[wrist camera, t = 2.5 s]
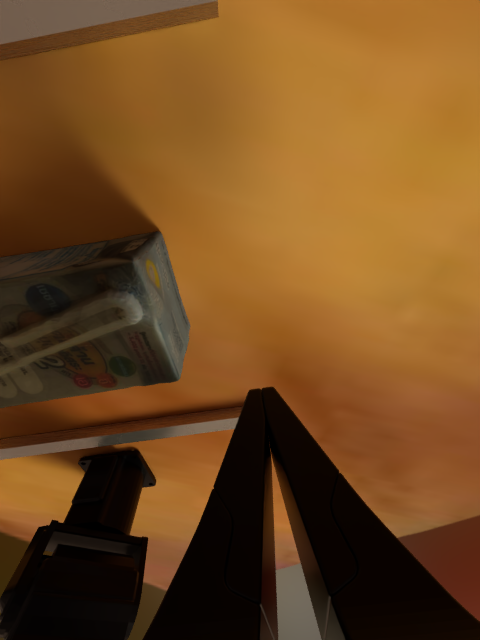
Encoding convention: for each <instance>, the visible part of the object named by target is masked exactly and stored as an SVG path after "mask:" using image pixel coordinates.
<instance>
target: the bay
mask: <svg viewBox="0 0 480 640" xmlns="http://www.w3.org/2000/svg"><path fill="white" fill-rule="evenodd" d="M215 17H219V16H218V0H0V60H3V59H8V58H13V57H18V56H23V55H29V54H34V53H39V52H44V51H49V50H54V49H59V48H64V47H69V46H74V45H79V44H84V43H89V42H94V41H99V40H104V39H109V38H114V37H119V36H124V35H129V34H134V33H139V32H144V31H149V30H154V29H159V28H164V27H169V26H175V25H180V24H185V23H190V22H195V21H200V20H205V19H210V18H215ZM242 408H243V406H241V407H234V408H226V409H219V410H212V411H204V412H197V413H190V414H182V415H175V416H168V417H160V418H153V419H145V420H138V421H131V422H123V423H116V424H109V425H101V426H94V427H86V428H79V429H72V430H64V431H57V432H50V433H42V434H35V435H28V436H20V437H13V438H5V439H0V460H2V459H10V458H17V457H25V456H32V455H40V454H47V453H55V452H63V451H70V450H78V449H85V448H93V447H100V446H108V445H115V444H123V443H131V442H138V441H146V440H153V439H161V438H168V437H176V436H183V435H191V434H199V433H206V432H214V431H221V430H229V429H235V427H236V424H237V421H238V419H239V416H240V413H241V410H242Z"/></svg>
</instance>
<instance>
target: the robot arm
mask: <svg viewBox="0 0 480 640" xmlns="http://www.w3.org/2000/svg"><path fill="white" fill-rule="evenodd" d="M268 436H269V437H268ZM269 443H270V444H269ZM270 449H271V451H270ZM271 454H272V459H273V463H274V467H275V470H276V474H277V478H278V481H279V485H280V489H281V492H282V496H283V499H284V503H285V507H286V510H287V514H288V518H289V521H290V525H291V529H292V532H293V536H294V540H295V543H296V547H297V551H298V554H299V558H300V562H301V565H302V569H303V573H304V576H305V580H306V584H307V587H308V591H309V595H310V598H311V602H312V606H313V609H314V613H315V617H316V620H317V624H318V628H319V631H320V635H321V639H322V640H480V621H478V620H477V619H476V618H475V617H474V616H473V615H472V614H471V613H469V612H468V611H467V610H466V609H465V608H464V607H463V606H462V605H461V604H460V603H459V602H458V601H457V600H456V599H454V598H453V597H452V596H451V594H450V593H449V592H448V591H447V590H446V589H445V588H444V587H443V586H442V585H441V584H440V583H439V582H438V581H437V580H436V579H435V578H434V577H433V576H432V575H431V574H430V573H429V571H428V570H426V568H425V567H424V566H423V565H422V564H421V563H420V562H419V561H418V560H417V559H416V558H415V557H414V556H413V554H412V553H411V552H410V551H409V550H408V549H407V548H406V547H405V546H404V545H403V544H402V543H401V542H400V541H399V540H398V539H397V538H396V536H395V535H394V534H393V533H392V532H391V531H390V530H389V529H388V528H387V527H386V526H385V525H384V524H383V523H382V521H381V520H380V519H379V518H378V517H377V516H376V515H375V514H374V513H373V511H372V510H371V509H370V508H369V507H368V506H367V505H366V504H365V502H364V501H363V500H362V499H361V497H360V496H359V495H358V494H357V493H356V491H355V490H354V489H353V488H352V487H351V485H350V484H349V483H348V481H347V480H346V479H345V478H344V476H343V475H342V474H341V473H339V470H338V469H337V468H336V466H335V465H334V464H333V462H332V461H331V460H330V459H329V457H328V456H327V455H326V453H325V452H324V451H323V450H322V448H321V447H320V446H319V444H318V443H317V442H316V441H315V439H314V438H313V437H312V435H311V434H310V433H309V432H308V430H307V429H306V428H305V426H304V425H303V424H302V423H301V421H300V420H299V419H298V417H297V416H296V415H295V414H294V412H293V411H292V410H291V409H290V407H289V406H288V405H287V403H286V402H285V401H284V400H283V398H282V397H281V396H280V394H279V393H278V392H277V391H276V389H275V388H274V387H266V388H262V391H261V389H260V388H258V389H251V390H249V392H248V394H247V397H246V400H245V402H244V405H243V408H242V410H241V413H240V416H239V419H238V421H237V424H236V427H235V429H234V432H233V435H232V438H231V440H230V443H229V446H228V448H227V451H226V454H225V457H224V459H223V462H222V465H221V467H220V470H219V473H218V476H217V478H216V481H215V484H214V489H212V491H211V494H210V497H209V500H208V502H207V505H206V507H205V510H204V512H203V515H202V517H201V520H200V522H199V525H198V527H197V529H196V531H195V534H194V536H193V538H192V540H191V542H190V545H189V547H188V549H187V551H186V553H185V555H184V557H183V559H182V561H181V563H180V565H179V568H178V570H177V572H176V574H175V576H174V578H173V580H172V582H171V584H170V586H169V588H168V590H167V592H166V594H165V596H164V598H163V600H162V603H161V605H160V607H159V609H158V611H157V613H156V615H155V617H154V619H153V621H152V623H151V625H150V627H149V629H148V630H147V632H146V634H145V636H144V638H143V640H278V621H277V593H276V567H275V541H274V514H273V488H272V462H271ZM78 464H79V465H80V466H81V468H82V469H83V470H84V471H85V474H84V477H83V479H82V481H81V483H80V485H79V487H78V489H77V491H76V493H75V496H74V498H73V500H72V506H71V508H70V510H69V512H68V514H67V516H66V518H65V521H64V523H59V522H58V521H56V520H52V521H51V523H50V525H49V526H48V525H46V526H42V527H39V528H38V529H37V531H36V533H35V535H34V537H33V539H32V541H31V543H30V544H29V546H28V548H27V550H26V552H25V554H24V556H23V558H22V559H21V561H20V563H19V565H18V567H17V569H16V570H15V572H14V574H13V576H12V578H11V580H10V581H9V583H8V585H7V587H6V589H5V590H4V592H3V594H2V596H1V598H0V610H1V615H0V621H1V622H0V637H2V638H4V640H127V639H128V637H129V635H130V632H131V630H132V628H133V625H134V622H135V619H136V615H137V612H138V608H139V604H140V599H141V593H142V585H143V577H144V568H145V560H146V552H147V544H148V537H136V536H131V535H130V531H131V528H132V524H133V520H134V516H135V513H136V509H137V505H138V502H139V498H140V494H141V491H142V488H143V487H151V486H155V484H156V479H155V477H154V476H153V474H152V472H151V471H150V469H149V467H148V466H147V464H146V462H145V461H144V459H143V457H142V456H141V454H140V453H139V452H138V451H127V452H119V453H112V454H104V455H96V456H89V457H82V458H80V460H79V462H78ZM44 551H51V552H53V554H52V556H48V555H43V553H44Z"/></svg>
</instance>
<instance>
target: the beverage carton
mask: <svg viewBox="0 0 480 640" xmlns="http://www.w3.org/2000/svg"><path fill="white" fill-rule="evenodd" d="M189 329H190V323H189V321H188V318H187V316H186V312H185V309H184V306H183V304H182V300H181V297H180V294H179V290H178V286H177V283H176V280H175V276H174V273H173V269H172V266H171V263H170V260H169V255H168V251H167V248H166V245H165V242H164V239H163V236H162V234H161V232H159V231H157V232H152V233H146V234H139V235H133V236H129V237H124V238H119V239H114V240H108V241H102V242H95V243H89V244H82V245H76V246H70V247H65V248H58V249H52V250H46V251H39V252H33V253H27V254H20V255H13V256H6V257H0V408H4V407H9V406H16V405H21V404H27V403H33V402H40V401H48V400H53V399H59V398H66V397H73V396H80V395H88V394H93V393H99V392H105V391H111V390H117V389H124V388H129V387H133V386H148V385H154V384H158V383H171V382H175V381H178V380H179V379H180V376H181V372H182V367H183V360H184V356H185V353H186V350H187V344H188V341H189Z"/></svg>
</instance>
